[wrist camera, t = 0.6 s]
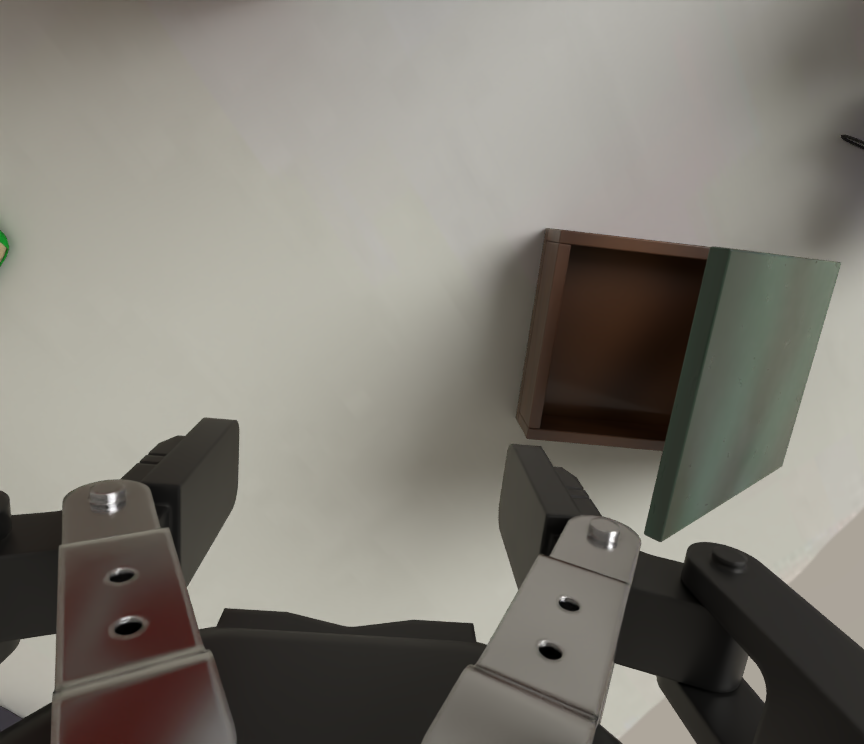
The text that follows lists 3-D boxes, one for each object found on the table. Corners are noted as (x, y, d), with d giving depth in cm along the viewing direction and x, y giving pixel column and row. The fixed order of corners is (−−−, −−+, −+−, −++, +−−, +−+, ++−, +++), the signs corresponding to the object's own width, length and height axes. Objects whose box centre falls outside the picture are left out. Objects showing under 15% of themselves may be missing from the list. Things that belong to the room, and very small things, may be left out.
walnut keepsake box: (515, 418, 37) (526, 439, 34) (545, 228, 34) (560, 229, 31) (738, 439, 38) (770, 461, 35) (786, 256, 35) (827, 260, 32)
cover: (642, 534, 24) (660, 543, 24) (709, 246, 21) (731, 248, 21) (767, 461, 35) (782, 466, 34) (824, 260, 32) (841, 262, 31)
